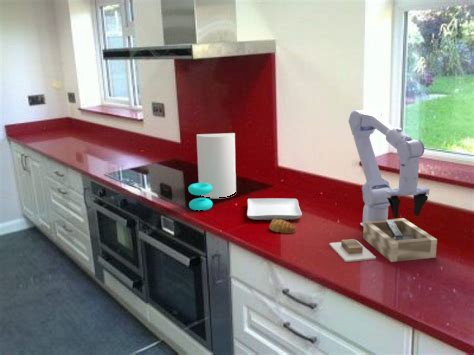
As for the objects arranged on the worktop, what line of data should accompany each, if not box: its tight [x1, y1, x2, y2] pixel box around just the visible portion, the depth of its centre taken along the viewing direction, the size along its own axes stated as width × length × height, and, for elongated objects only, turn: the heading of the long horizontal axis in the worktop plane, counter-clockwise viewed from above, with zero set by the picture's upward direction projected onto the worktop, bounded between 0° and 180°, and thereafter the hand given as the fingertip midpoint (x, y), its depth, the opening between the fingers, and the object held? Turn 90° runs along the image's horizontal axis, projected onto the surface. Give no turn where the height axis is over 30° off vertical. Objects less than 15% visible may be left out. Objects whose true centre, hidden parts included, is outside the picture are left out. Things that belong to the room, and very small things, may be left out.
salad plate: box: [246, 197, 303, 221], centre depth 192 cm, size 21×21×3 cm
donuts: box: [187, 182, 214, 212], centre depth 200 cm, size 10×10×10 cm
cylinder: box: [196, 132, 237, 199], centre depth 218 cm, size 17×17×28 cm
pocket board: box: [362, 217, 438, 263], centre depth 156 cm, size 20×15×6 cm
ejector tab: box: [386, 219, 416, 241], centre depth 155 cm, size 14×10×2 cm
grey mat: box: [328, 240, 377, 263], centre depth 154 cm, size 14×10×1 cm
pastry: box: [269, 219, 297, 234], centre depth 173 cm, size 9×7×4 cm
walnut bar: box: [340, 238, 363, 254], centre depth 154 cm, size 7×4×2 cm, turn 8°
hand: (405, 216), depth 158 cm, fingers open, 7 cm apart
